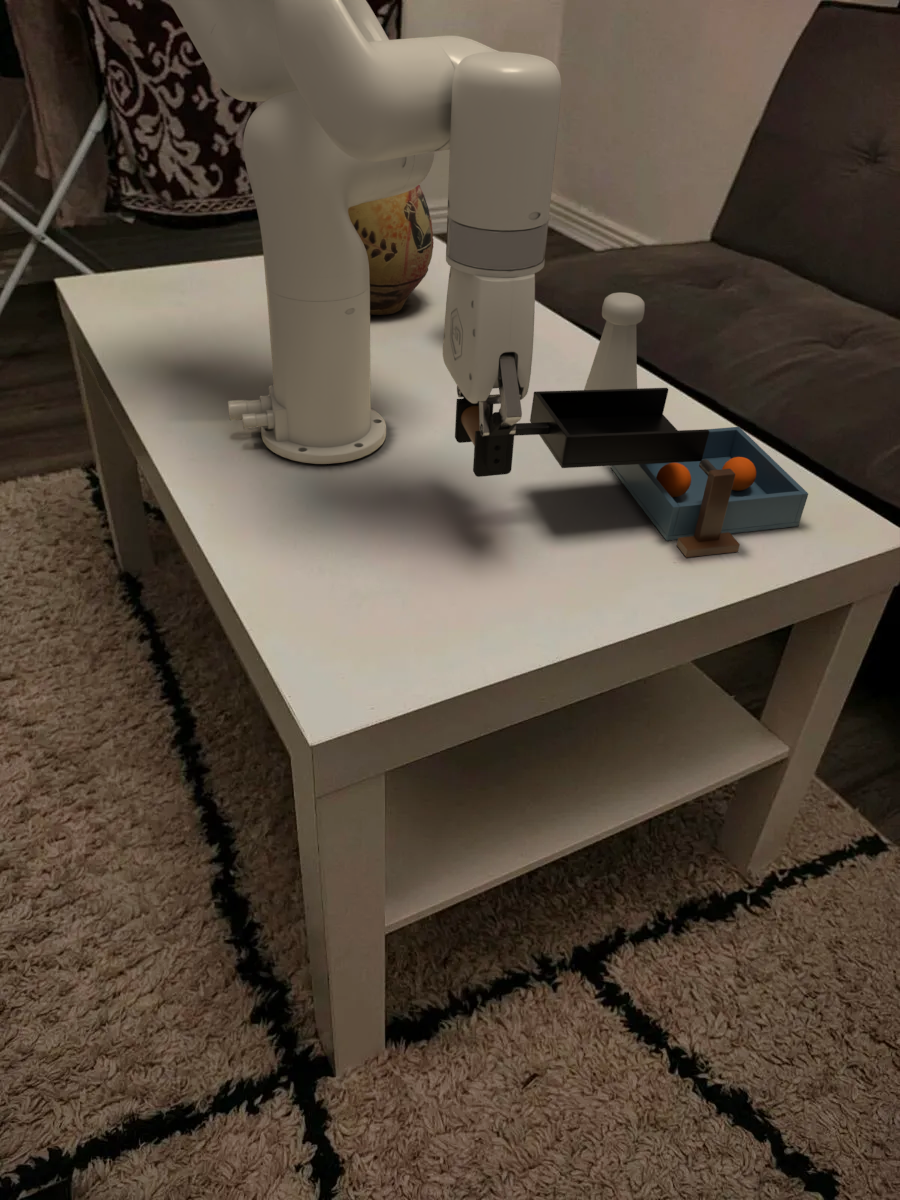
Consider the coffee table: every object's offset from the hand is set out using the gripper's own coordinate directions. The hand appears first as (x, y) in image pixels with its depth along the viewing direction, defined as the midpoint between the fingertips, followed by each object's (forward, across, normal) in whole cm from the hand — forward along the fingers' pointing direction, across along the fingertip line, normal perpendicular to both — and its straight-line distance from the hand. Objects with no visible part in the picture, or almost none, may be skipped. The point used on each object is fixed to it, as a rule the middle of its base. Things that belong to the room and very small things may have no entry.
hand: (482, 454), depth 83 cm
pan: (0, 0, +9) cm, 9 cm away
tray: (+7, 0, +22) cm, 23 cm away
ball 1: (+4, 0, +19) cm, 19 cm away
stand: (+7, 0, +19) cm, 20 cm away
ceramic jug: (+6, -55, +1) cm, 55 cm away
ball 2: (+4, 0, +26) cm, 26 cm away
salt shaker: (+7, -18, +20) cm, 28 cm away
